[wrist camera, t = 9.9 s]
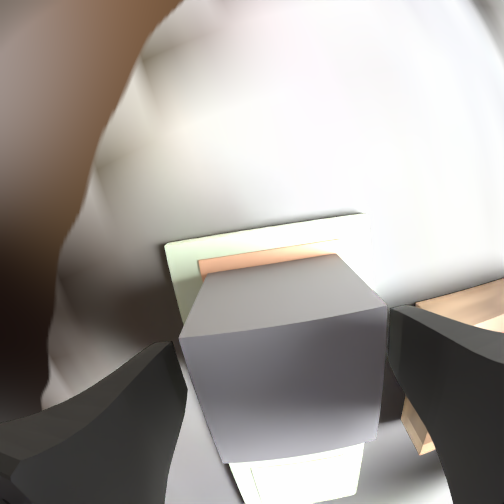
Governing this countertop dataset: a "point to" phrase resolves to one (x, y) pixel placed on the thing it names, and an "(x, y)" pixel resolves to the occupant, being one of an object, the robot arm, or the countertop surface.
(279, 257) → the board
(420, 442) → the collar
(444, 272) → the countertop surface
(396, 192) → the countertop surface
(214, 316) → the block
